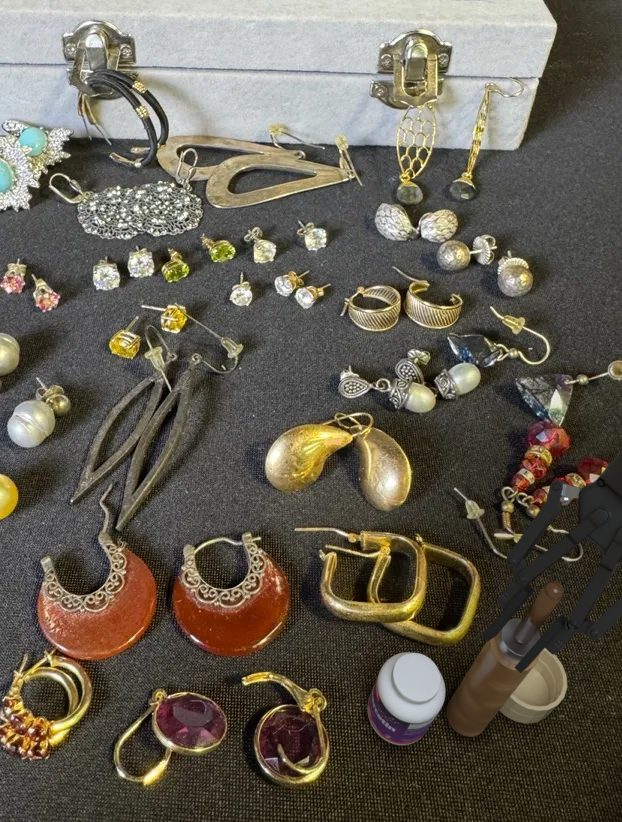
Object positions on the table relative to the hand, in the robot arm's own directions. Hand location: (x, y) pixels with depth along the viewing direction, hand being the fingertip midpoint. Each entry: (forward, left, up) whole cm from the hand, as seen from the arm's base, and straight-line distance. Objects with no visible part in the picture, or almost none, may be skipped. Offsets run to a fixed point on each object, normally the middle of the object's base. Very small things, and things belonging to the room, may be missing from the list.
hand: (504, 651), depth 81 cm
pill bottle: (+6, +1, -29) cm, 30 cm away
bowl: (-6, -10, -29) cm, 32 cm away
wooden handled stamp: (-1, -4, -5) cm, 6 cm away
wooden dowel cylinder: (-1, -4, -29) cm, 29 cm away
